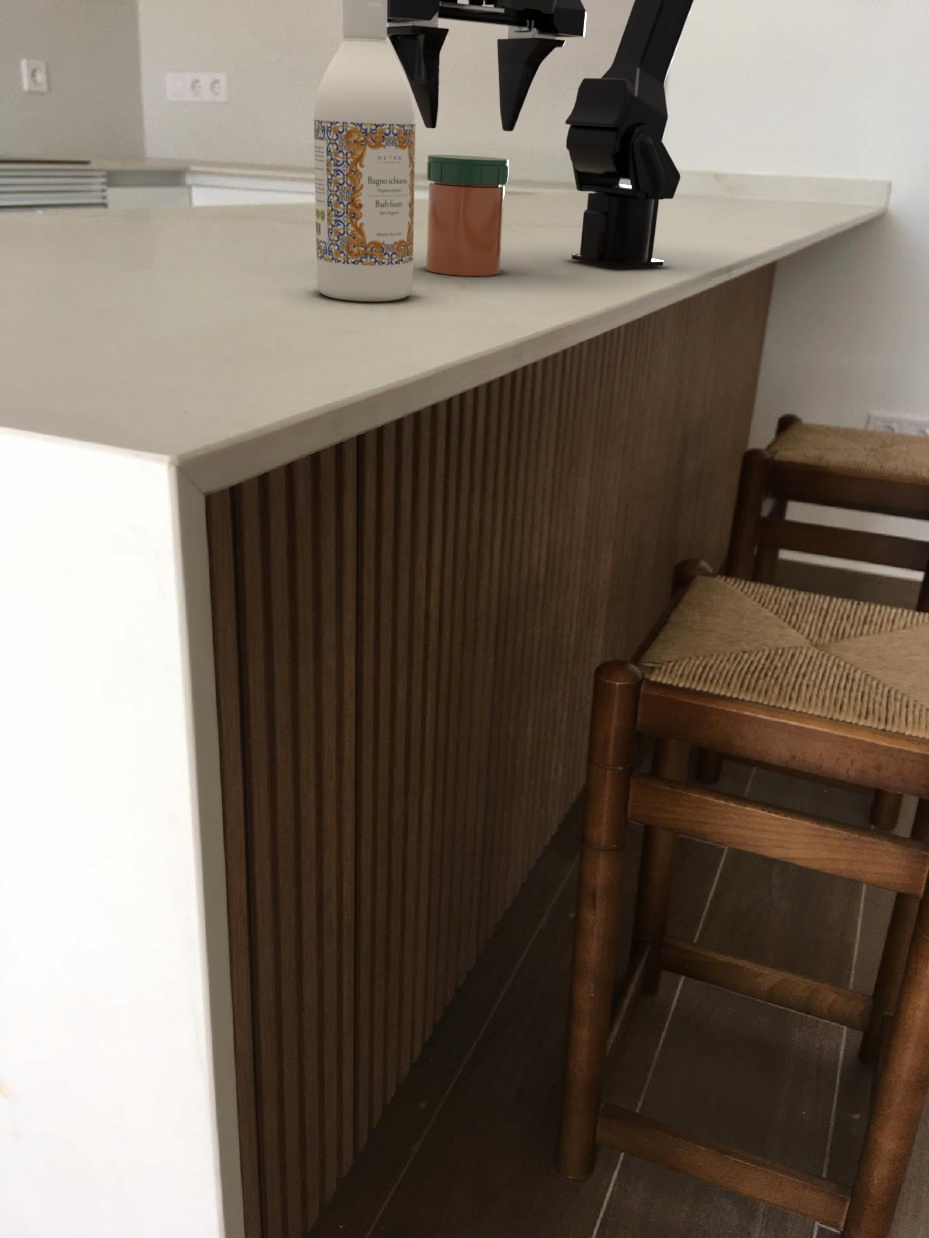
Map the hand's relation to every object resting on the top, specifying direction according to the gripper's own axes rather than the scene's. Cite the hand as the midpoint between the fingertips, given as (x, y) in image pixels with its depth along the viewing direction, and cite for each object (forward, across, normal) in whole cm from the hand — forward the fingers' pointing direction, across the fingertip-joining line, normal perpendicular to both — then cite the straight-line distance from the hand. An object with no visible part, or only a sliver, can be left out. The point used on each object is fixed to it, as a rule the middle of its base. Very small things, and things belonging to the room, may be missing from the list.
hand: (470, 129), depth 89 cm
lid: (+2, 0, 0) cm, 3 cm away
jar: (+11, 0, 0) cm, 11 cm away
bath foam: (+11, -15, -9) cm, 21 cm away
